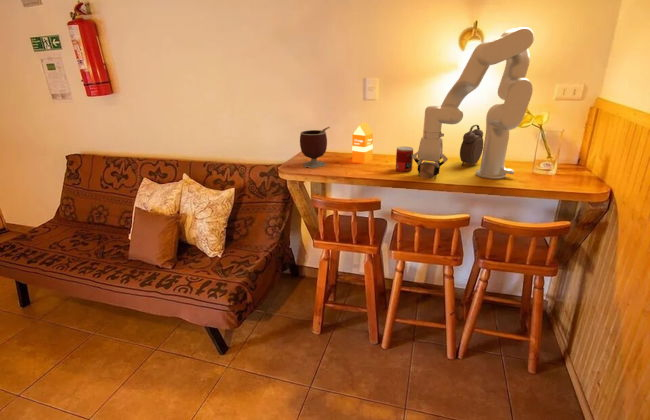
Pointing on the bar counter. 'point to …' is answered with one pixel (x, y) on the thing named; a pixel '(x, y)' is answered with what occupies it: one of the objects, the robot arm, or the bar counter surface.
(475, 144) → the alarm clock
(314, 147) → the mate gourd
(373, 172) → the bar counter surface
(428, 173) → the walnut cube
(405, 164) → the canned food
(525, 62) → the robot arm
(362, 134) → the orange juice
